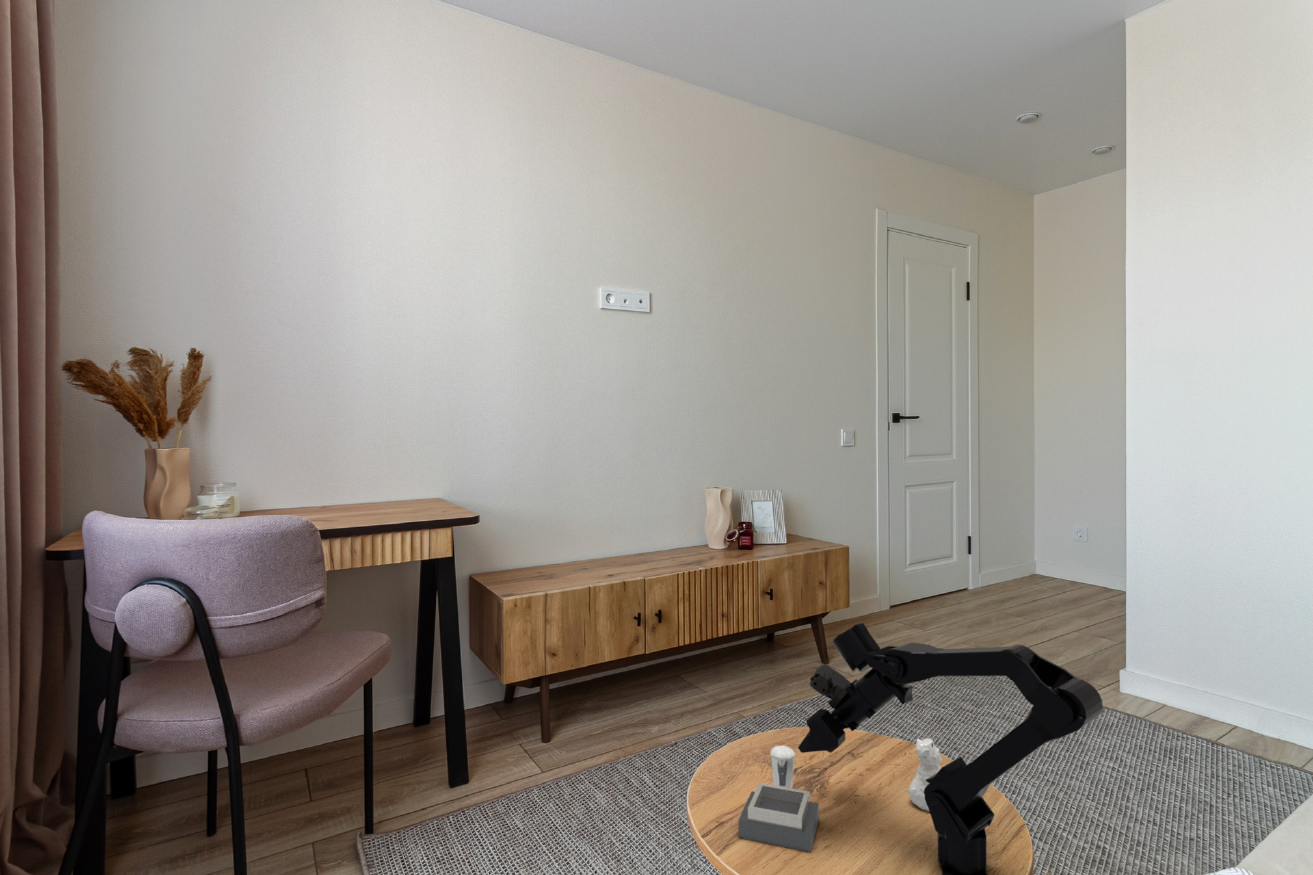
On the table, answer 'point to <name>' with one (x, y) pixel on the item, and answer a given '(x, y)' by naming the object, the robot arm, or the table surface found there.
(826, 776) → the table surface
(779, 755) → the milkshake
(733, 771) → the table surface
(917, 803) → the seated beast figurine
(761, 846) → the table surface
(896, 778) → the table surface
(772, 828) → the grey open rectangular box
